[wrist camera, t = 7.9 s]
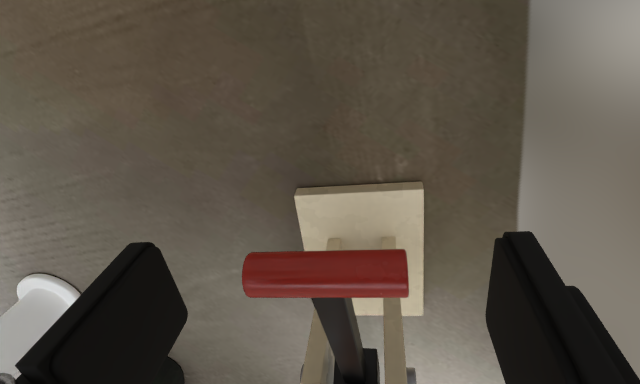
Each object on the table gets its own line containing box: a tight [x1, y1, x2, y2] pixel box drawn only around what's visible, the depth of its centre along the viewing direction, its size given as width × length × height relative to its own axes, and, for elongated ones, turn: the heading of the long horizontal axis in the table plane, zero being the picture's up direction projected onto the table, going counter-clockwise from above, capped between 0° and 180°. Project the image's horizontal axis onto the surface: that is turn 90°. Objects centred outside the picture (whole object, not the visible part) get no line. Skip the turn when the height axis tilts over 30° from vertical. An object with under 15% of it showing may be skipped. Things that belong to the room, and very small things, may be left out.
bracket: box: [294, 181, 424, 384], centre depth 23 cm, size 12×9×13 cm
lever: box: [242, 249, 409, 384], centre depth 15 cm, size 13×5×2 cm, turn 8°
